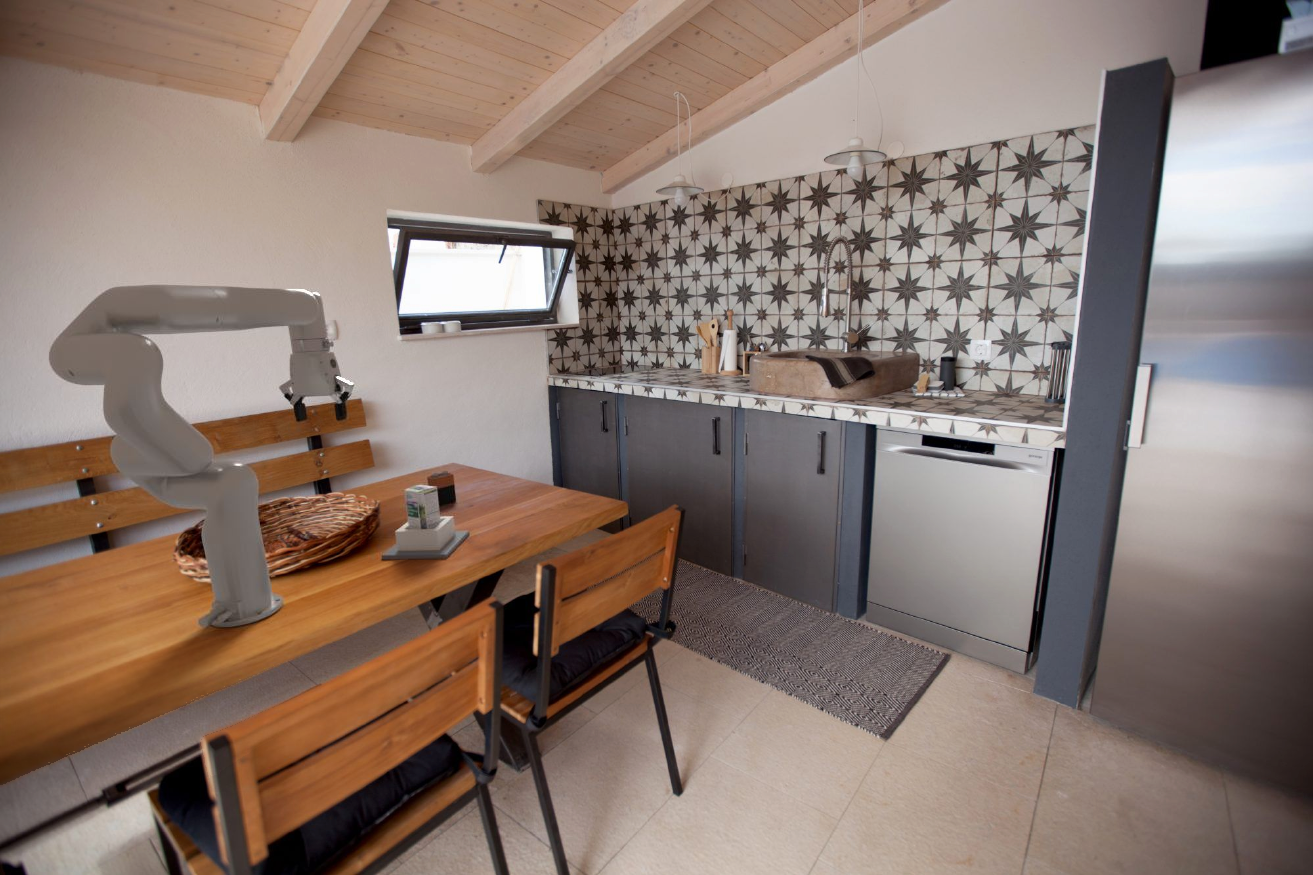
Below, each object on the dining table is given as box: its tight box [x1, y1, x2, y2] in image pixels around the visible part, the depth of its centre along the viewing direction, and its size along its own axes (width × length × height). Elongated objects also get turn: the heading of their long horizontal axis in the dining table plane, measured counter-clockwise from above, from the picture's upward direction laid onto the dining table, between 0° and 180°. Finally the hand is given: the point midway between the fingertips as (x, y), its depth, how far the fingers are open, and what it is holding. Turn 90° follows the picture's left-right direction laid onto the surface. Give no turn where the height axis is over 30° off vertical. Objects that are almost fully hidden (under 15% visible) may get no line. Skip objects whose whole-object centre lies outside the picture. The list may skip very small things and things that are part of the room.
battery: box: [426, 470, 457, 507], centre depth 189 cm, size 4×7×10 cm, turn 137°
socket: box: [381, 515, 470, 560], centre depth 155 cm, size 16×16×6 cm
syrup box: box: [404, 484, 441, 529], centre depth 154 cm, size 6×6×14 cm
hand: (321, 420), depth 143 cm, fingers open, 9 cm apart
